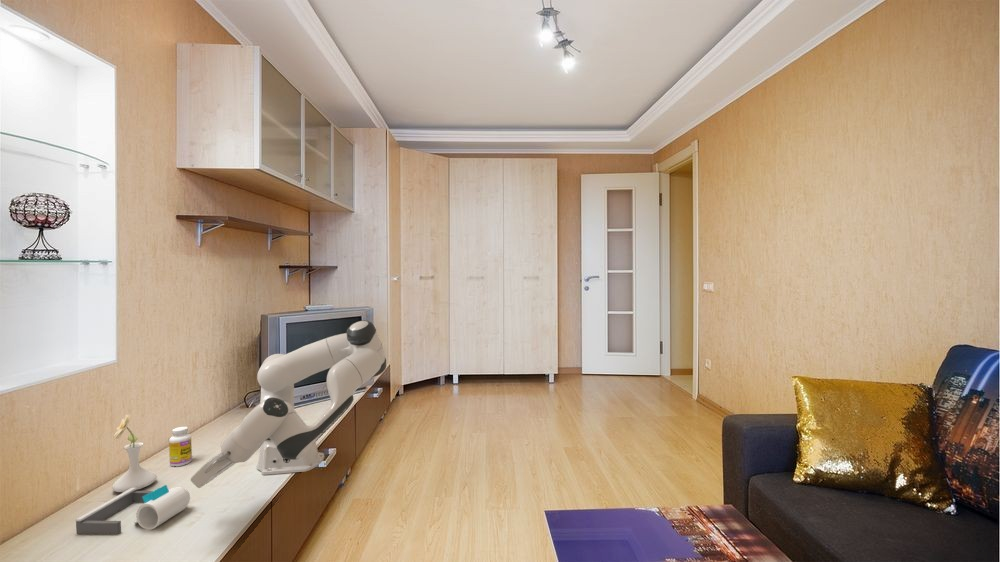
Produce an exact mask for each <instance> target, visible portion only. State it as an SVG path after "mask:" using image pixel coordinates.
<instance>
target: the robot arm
mask: <svg viewBox="0 0 1000 562" xmlns="http://www.w3.org/2000/svg"><path fill="white" fill-rule="evenodd" d="M381 342H382V341H381V339H380V337H379V335H378V333H377V328H376V327H375V325H374V324H373V322H371V321H369V320H359V321H356V322H353V323H352V324H350V325H349V326H348V327H347V329H346V332H345V333H340V334H335V335H332V336H327V337H326V338H323V339H319V340H317V341H315V342H311V343H309V344H306V345H304V346H301V347H299V348H297V349H295V350H293V351H291V352H287V353H286V354H283V353H274V354H271V355H269V356H268V357H266V358H265V359H264V361H263V362H262V364H261V366H260V368H259V369H258V371H257V375H256V379H257V382H258V385H259V386H260V401H259V404H257V405H256V406H255V407H254V408H253V409H252V410H250V411H249V412H248V414H246V415H245V417H244V418H242V421H241V423H240V424H239V425H237V426H235V427H234V428H233V429H232V430H231V432H229V434H227V436H226V437H224V439H223V440H222V442H221V444H220V452H219V453H218V454H217V455H215V456H214V457H212V458H211V459H209V460H208V461H206V462H205V463H204V464H203V465H202V466H201V467H200V468H199V469H198V470H196V471H195V473H194V474H193V475H192V476H191V478H190V482H191V483H192V484H193V485H195V487H196V488H198V489H200V488H203V487H204V486H205V485H207V484H209V483H210V482H212V481H214V479H216V478H217V477H218V476H219V475H221V474H223V473H224V472H225V471H227V470H228V469H230V468H231V467H233V466H235V465H236V464H237V463H246V462H247V461H249V460H250V458H251V457H252V456H253V455H254V454H255V453H256V452H257V451H258V450H260V451H259V457H258V461H257V464H256V469H257V470H258V471H260V472H261V475H263V476H267V475H277V474H278V475H279V474H290V473H291V474H292V473H293V474H294V473H300V472H301V473H303V472H308V471H311V470H312V469H314V468H316V467H318V466H319V465H320V464H322V462H323V461H324V459H325V452H319V451H318V450H319V449H318V445H317V443H316V442H317V441H318V440H320V438H321V437H322V436H323V435H324V434H326V432H327V431H328V430H329V429H330V428H331V427H332V426H333V425H334V424H335V423H336V422H337V421H338V420H339V419H340V418H341V417H342V416H343V415H344V414H345V413H346V412H347V410H348V409H350V407H351V405H352V404H353V402H354V400H355V399H354V394H355V393H356V392H357V390H358V388H360V387H361V386H363V385H364V384H366V383H367V382H369V381H370V380H371V379H372V378H375V377H377V376H379V375H381V374H383V372H384V371H385V370H386V369H387V358H386V356H385V351H384V347H383V344H382V343H381ZM328 369H329V370H328ZM325 370H328V372H327V375H326V387H327V392H328V395H329V398H330V407H329V409H328V410H326V412H324V413H323V414H322V415H321V416H320V417H319V418H318V419H317V420H316V421H315V422H314V423H313V424H312V425H307V424H306V423H305V421H304V420H303V419H302V417H301V416H300V415H299V414H298V412H297V411H296V410H295V384H296V383H299V382H301V381H302V380H304V379H308V378H309V377H310V376H313V375H316V374H317V373H320V372H324V371H325Z"/></svg>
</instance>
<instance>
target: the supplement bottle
mask: <svg viewBox="0 0 1000 562" xmlns="http://www.w3.org/2000/svg"><path fill="white" fill-rule="evenodd" d="M171 431H172V432H171V433H172V436H171V437H170V438H169V439H168V446H169V447H168V448H169V449H168V450H169V454H168V455H169V465H170V466H171V467H174V466H176V467H182V466H186V465H188V464H190V463H191V462H192V460H193V455H192V454H193V452H192V451H193V450H192V435H191V433H188V431H189V427H188V426H178V427H176V428H173V429H172V430H171ZM185 464H186V465H185Z"/></svg>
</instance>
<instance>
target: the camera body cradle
mask: <svg viewBox="0 0 1000 562" xmlns="http://www.w3.org/2000/svg"><path fill="white" fill-rule="evenodd" d="M152 491H153V490H136V488H130V489H129V490H127V491H125V492H121V493H120V494H118V495H116V496H114V497H113V498H111V499H109V500H108V501H106V502H104V503H102V504H100V505H99V506H97V507H95V508H93V509H91V510H90V511H88V512H86V513H85V514H82V515H81V516H79V517H78V518H75V527H76V529H75V530H76V531H75V532H76V533H75V534H76V535H118V534H120V533H121V532H122V521H121V520H107V519H108V518H110V517H112V516H113V515H115V514H116V513H119V512H120V511H121V510H123V509H125V508H127V507H128V506H130V505H132V504H133V503H142V504H145V503H144V500H143V498H142V496H144V495H146V494H148V493H150V492H152Z"/></svg>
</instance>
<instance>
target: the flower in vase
mask: <svg viewBox="0 0 1000 562" xmlns="http://www.w3.org/2000/svg"><path fill="white" fill-rule="evenodd" d="M130 420H131V414H129V413H128V414H126V415H125V416H124V418H122V419H120V423H119V425H118V426H117V427H116V429H115V430H116V432H115V434H113V439H114V440H117V439H119V438H120V437H121V436H122V434H123V433H124V432H125V430H126V429H127V431H128V432H129V433H130V434H129V435H128V437H127V440H128V441H130V443H129V444H126V445H125V446H123V449H124V450H125V451H126V453H127V454H128V458H129V467H128V470H127V471H126V472H124V474H122V475H121V476H120V477H119V478H118V479H116V480H115V482H114V483H113V485H112V487H111V490H112V491H114V492H116V493H123V492H125V491H127V490H129V489H130V488H136V491H139V490H141V489H143V488H145V487H148V486H150V485H152V484H153V483H154V482H155V481H156V480H157V478H158V476H157V474H156V473H155V472H154V471H152V470H149V469H146V468H143V467H141V466H140V464H139V463H140V462H139V458H140V457H139V454H140V450H141V449H142V447H143V445H144V443H143V442H137V440H138V437H137V436H136V435H135V434H134V433H133V432H132V431H131V429H130V428H129V427H128V425H129V423H130Z"/></svg>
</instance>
